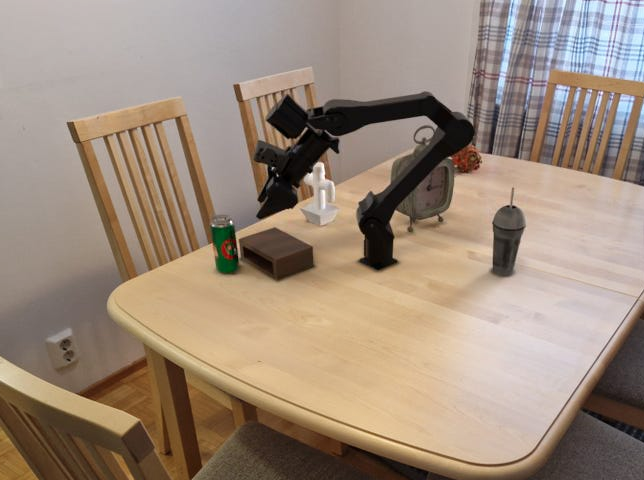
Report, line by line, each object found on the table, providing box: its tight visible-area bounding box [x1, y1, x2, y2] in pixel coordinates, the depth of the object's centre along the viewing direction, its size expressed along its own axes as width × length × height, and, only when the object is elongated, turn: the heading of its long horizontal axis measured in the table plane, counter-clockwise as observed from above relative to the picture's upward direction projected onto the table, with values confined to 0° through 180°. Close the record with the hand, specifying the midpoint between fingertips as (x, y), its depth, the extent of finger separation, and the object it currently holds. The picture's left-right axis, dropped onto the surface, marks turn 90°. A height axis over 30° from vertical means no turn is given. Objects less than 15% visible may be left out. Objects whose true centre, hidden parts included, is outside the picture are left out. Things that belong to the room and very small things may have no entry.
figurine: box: [299, 161, 341, 227], centre depth 162 cm, size 7×9×15 cm
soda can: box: [209, 214, 240, 275], centre depth 139 cm, size 5×5×12 cm
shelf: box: [238, 226, 315, 281], centre depth 145 cm, size 14×10×5 cm
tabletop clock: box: [389, 124, 455, 234], centre depth 160 cm, size 14×9×25 cm, turn 131°
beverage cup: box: [491, 187, 527, 277], centre depth 141 cm, size 7×7×20 cm
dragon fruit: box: [450, 144, 483, 173], centre depth 201 cm, size 8×8×12 cm
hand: (258, 209), depth 137 cm, fingers open, 9 cm apart
